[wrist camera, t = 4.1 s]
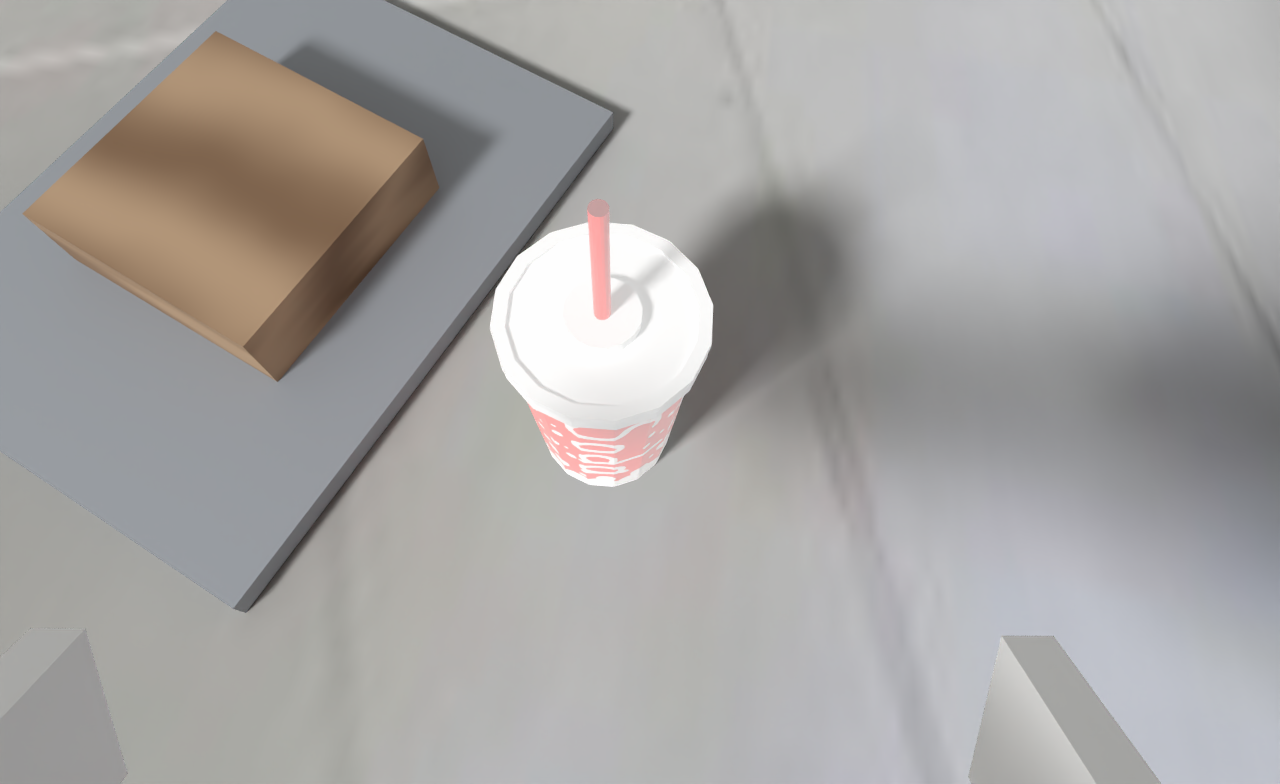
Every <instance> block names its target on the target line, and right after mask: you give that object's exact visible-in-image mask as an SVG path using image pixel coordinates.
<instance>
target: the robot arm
mask: <svg viewBox="0 0 1280 784" xmlns="http://www.w3.org/2000/svg"><path fill="white" fill-rule="evenodd" d="M127 774H128V773H127V769H126V766H125V763H124V759H123V756H122V752H121V749H120V745H119V742H118V739H117V735H116V732H115V728H114V725H113V721H112V718H111V715H110V711H109V708H108V704H107V701H106V698H105V694H104V691H103V687H102V684H101V680H100V677H99V674H98V670H97V667H96V663H95V660H94V657H93V653H92V650H91V646H90V643H89V639H88V636H87V633H86V629H79V628H30V629H29V630H28V631H27V632H26V633H25V634H24V635H23V636H22V637H21V638H20V639H19V640H18V641H17V642H16V643H15V644H14V645H12V646H11V647H10V648H9V649H8V650H7V651H6V652H5V653H4V654H3V655H2V656H1V657H0V784H121V782H122V781H123V779H124V778H125V777H126V775H127ZM968 777H969V779H970V781H971V784H1161V783H1160V781H1159V780H1158V778H1157V777H1156V776H1155V774H1154V773H1153V772H1152V770H1151V769H1150V768H1149V766H1148V765H1147V763H1146V762H1145V761H1144V759H1143V758H1142V757H1141V755H1140V754H1139V752H1138V751H1137V750H1136V748H1135V747H1134V746H1133V744H1132V743H1131V741H1130V740H1129V739H1128V737H1127V736H1126V735H1125V733H1124V732H1123V731H1122V729H1121V728H1120V726H1119V725H1118V724H1117V722H1116V721H1115V720H1114V718H1113V717H1112V715H1111V714H1110V713H1109V711H1108V710H1107V709H1106V707H1105V706H1104V704H1103V703H1102V702H1101V700H1100V699H1099V698H1098V696H1097V695H1096V694H1095V692H1094V691H1093V689H1092V688H1091V687H1090V685H1089V684H1088V683H1087V681H1086V680H1085V678H1084V677H1083V676H1082V674H1081V673H1080V672H1079V670H1078V669H1077V667H1076V666H1075V665H1074V663H1073V662H1072V661H1071V659H1070V658H1069V656H1068V655H1067V654H1066V652H1065V651H1064V650H1063V648H1062V647H1061V646H1060V644H1059V643H1058V641H1057V640H1056V639H1055V637H1054V636H1001V640H1000V645H999V649H998V653H997V657H996V662H995V666H994V670H993V674H992V678H991V683H990V687H989V691H988V695H987V700H986V704H985V708H984V712H983V717H982V721H981V725H980V729H979V734H978V738H977V742H976V746H975V750H974V755H973V759H972V763H971V767H970V772H969V776H968Z"/></svg>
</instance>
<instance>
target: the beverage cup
mask: <svg viewBox="0 0 1280 784" xmlns="http://www.w3.org/2000/svg"><path fill="white" fill-rule="evenodd" d="M587 211H588V223H584V224H580V225H577V226H573V227H569V228H565V229H562V230H558V231H554V232H551V233H549V234H548V235H546V236H545V237H543V238H542V239H541V240H539V241H538V242H536V243H535V244H534V245H532V246H531V247H529V248H528V249H526V250H525V251H524V252H522V253H521V254H519V255H518V256H517V257H516V259H515V260H514V262H513V263H512V265H511V266H510V268H509V269H508V271H507V273H506V274H505V276H504V277H503V279H502V280H501V282H500V283H499V285H498V286H497V288H496V291H495V297H494V304H493V310H492V317H491V323H490V330H491V334H492V337H493V340H494V344H495V347H496V351H497V354H498V357H499V361H500V364H501V367H502V370H503V372H504V373H505V376H506V378H507V379H508V380H509V382H510V383H511V384H512V385H513V386H514V387H515V388H516V390H517V391H518V392H519V393H520V394H521V395H522V396H523V398H524V399H525V400H526V401H527V403H528V405H529V407H530V409H531V412H532V414H533V416H534V418H535V420H536V422H537V424H538V427H539V429H540V431H541V433H542V435H543V437H544V440H545V442H546V444H547V446H548V448H549V450H550V452H551V455H552V457H553V458H554V459H555V460H556V461H557V462H558V463H559V465H560V466H561V467H562V468H563V469H564V470H565V472H566V473H567V474H569V475H571V476H573V477H575V478H577V479H579V480H581V481H583V482H585V483H587V484H589V485H599V486H613V487H614V486H618V485H621V484H624V483H627V482H630V481H633V480H636V479H638V478H639V477H641V476H642V475H643V474H644V473H645V472H647V471H648V470H649V469H650V468H651V467H653V466H654V465H655V464H656V463H657V461H658V459H659V457H660V455H661V453H662V451H663V449H664V447H665V445H666V443H667V440H668V438H669V435H670V432H671V429H672V427H673V424H674V421H675V418H676V416H677V413H678V410H679V408H680V405H681V402H682V399H683V397H684V395H685V394H687V393H688V392H689V391H690V389H691V387H692V385H693V384H694V382H695V380H696V378H697V376H698V374H699V372H700V370H701V368H702V366H703V364H704V362H705V360H706V358H707V356H708V352H709V350H710V349H711V345H712V323H713V303H712V301H711V298H710V296H709V294H708V291H707V289H706V286H705V284H704V281H703V279H702V277H701V274H700V272H699V269H698V268H697V267H696V266H695V265H694V264H693V263H692V262H691V261H690V260H689V259H688V258H687V257H686V256H685V255H684V254H683V253H682V252H681V251H679V250H678V249H677V248H676V247H675V246H674V245H673V244H672V243H671V242H670V241H669V240H666V239H664V238H662V237H659V236H657V235H655V234H653V233H650V232H648V231H646V230H643V229H641V228H639V227H636V226H634V225H630V224H616V223H609V205H608V203H607V202H606V201H604V200H602V199H596V200H593V201H591V202H590V203H589V204H588V208H587Z"/></svg>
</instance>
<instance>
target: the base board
mask: <svg viewBox="0 0 1280 784" xmlns="http://www.w3.org/2000/svg"><path fill="white" fill-rule="evenodd" d="M215 31H217V32H219V33H221V34H223V35H225V36H227V37H229V38H231V39H232V40H234V41H236V42H238V43H240V44H242V45H244V46H246V47H248V48H250V49H252V50H254V51H255V52H257V53H259V54H261V55H263V56H265V57H267V58H269V59H271V60H273V61H275V62H277V63H279V64H280V65H282V66H284V67H286V68H288V69H290V70H292V71H294V72H296V73H298V74H300V75H302V76H303V77H305V78H307V79H309V80H311V81H313V82H315V83H317V84H319V85H321V86H323V87H325V88H326V89H328V90H330V91H332V92H334V93H336V94H338V95H340V96H342V97H344V98H346V99H348V100H350V101H351V102H353V103H355V104H357V105H359V106H361V107H363V108H365V109H367V110H369V111H371V112H373V113H374V114H376V115H378V116H380V117H382V118H384V119H386V120H388V121H390V122H392V123H394V124H396V125H397V126H399V127H401V128H403V129H405V130H407V131H409V132H411V133H413V134H415V135H417V136H419V137H421V138H422V139H423V140H424V143H425V146H426V149H427V152H428V155H429V158H430V161H431V164H432V167H433V170H434V173H435V176H436V179H437V182H438V185H439V189H438V190H437V191H436V193H435V194H434V195H433V196H432V197H431V199H430V200H429V201H428V202H427V203H426V205H425V206H424V207H423V208H422V209H421V211H420V212H419V213H418V214H417V215H416V217H415V218H414V219H413V220H412V221H411V223H410V224H409V225H408V226H407V227H406V229H405V230H404V231H403V232H402V233H401V235H400V236H399V237H398V238H397V239H396V241H395V242H394V243H393V244H392V246H391V247H390V248H389V249H388V250H387V252H386V253H385V254H384V255H383V256H382V258H381V259H380V260H379V261H378V262H377V264H376V265H375V266H374V267H373V268H372V270H371V271H370V272H369V273H368V274H367V276H366V277H365V278H364V279H363V280H362V282H361V283H360V284H359V285H358V286H357V288H356V289H355V290H354V291H353V292H352V294H351V295H350V296H349V297H348V298H347V300H346V301H345V302H344V303H343V304H342V306H341V307H340V308H339V309H338V310H337V312H336V313H335V314H334V315H333V316H332V318H331V319H330V320H329V321H328V322H327V324H326V325H325V326H324V327H323V328H322V330H321V331H320V332H319V333H318V334H317V336H316V337H315V338H314V339H313V340H312V342H311V343H310V344H309V345H308V346H307V348H306V349H305V350H304V351H303V352H302V354H301V355H300V356H299V357H298V358H297V360H296V361H295V362H294V363H293V364H292V366H291V367H290V368H289V369H288V370H287V372H286V373H285V374H284V375H283V376H282V378H281V379H280V380H279V381H278V382H277V381H275V380H273V379H272V378H270V377H268V376H267V375H265V374H263V373H262V372H260V371H259V370H257V369H255V368H254V367H252V366H250V365H249V364H247V363H245V362H244V361H242V360H240V359H239V358H237V357H235V356H234V355H232V354H230V353H229V352H227V351H226V350H224V349H222V348H221V347H219V346H217V345H216V344H214V343H212V342H211V341H209V340H207V339H206V338H204V337H202V336H201V335H199V334H198V333H196V332H194V331H193V330H191V329H189V328H188V327H186V326H184V325H183V324H181V323H179V322H178V321H176V320H174V319H173V318H171V317H170V316H168V315H166V314H165V313H163V312H161V311H160V310H158V309H156V308H155V307H153V306H151V305H150V304H148V303H146V302H145V301H143V300H141V299H140V298H138V297H137V296H135V295H133V294H132V293H130V292H128V291H127V290H125V289H123V288H122V287H120V286H118V285H117V284H115V283H113V282H112V281H110V280H109V279H107V278H105V277H104V276H102V275H100V274H99V273H97V272H95V271H94V270H92V269H90V268H89V267H87V266H85V265H84V264H82V263H81V262H79V261H77V260H76V259H74V258H73V257H72V256H71V255H69V254H68V253H67V252H66V251H65V250H64V249H62V248H61V247H60V246H59V245H58V244H57V243H55V242H54V241H53V240H52V239H51V238H50V237H48V236H47V235H46V234H45V233H44V232H43V231H42V230H40V229H39V228H38V227H37V226H36V225H35V224H33V223H32V222H31V221H30V220H29V219H28V218H26V217H25V216H24V215H23V214H22V213H23V212H24V211H26V210H27V209H28V208H29V207H30V206H31V205H32V204H33V203H34V202H35V201H36V200H37V199H38V198H39V197H40V196H41V195H42V194H44V193H45V192H46V191H47V190H48V189H49V188H50V187H51V186H52V185H53V184H54V183H55V182H56V181H57V180H58V179H59V178H60V177H62V176H63V175H64V174H65V173H66V172H67V171H68V170H69V169H70V168H71V167H72V166H73V165H74V164H75V163H76V162H77V161H78V160H80V159H81V158H82V157H83V156H84V155H85V154H86V153H87V152H88V151H89V150H90V149H91V148H92V147H93V146H94V145H95V144H96V143H98V142H99V141H100V140H101V139H102V138H103V137H104V136H105V135H106V134H107V133H108V132H109V131H110V130H111V129H112V128H113V127H114V126H116V125H117V124H118V123H119V122H120V121H121V120H122V119H123V118H124V117H125V116H126V115H127V114H128V113H129V112H130V111H131V110H133V109H134V108H135V107H136V106H137V105H138V104H139V103H140V102H141V101H142V100H143V99H144V98H145V97H146V96H147V95H148V94H149V93H151V92H152V91H153V90H154V89H155V88H156V87H157V86H158V85H159V84H160V83H161V82H162V81H163V80H164V79H165V78H166V77H167V76H169V75H170V74H171V73H172V72H173V71H174V70H175V69H176V68H177V67H178V66H179V65H180V64H181V63H182V62H183V61H184V60H185V59H187V58H188V57H189V56H190V55H191V54H192V53H193V52H194V51H195V50H196V49H197V48H198V47H199V46H200V45H201V44H202V43H203V42H205V41H206V40H207V39H208V38H209V37H210V36H211V35H212V34H213V33H214V32H215ZM612 129H613V112H611V111H609V110H607V109H605V108H603V107H601V106H599V105H597V104H595V103H593V102H591V101H589V100H587V99H585V98H583V97H581V96H579V95H577V94H575V93H573V92H571V91H568V90H566V89H564V88H562V87H560V86H558V85H556V84H554V83H552V82H550V81H548V80H546V79H544V78H542V77H540V76H538V75H536V74H534V73H532V72H530V71H528V70H526V69H524V68H522V67H520V66H517V65H515V64H513V63H511V62H509V61H507V60H505V59H503V58H501V57H499V56H497V55H495V54H493V53H491V52H489V51H487V50H485V49H483V48H481V47H479V46H477V45H475V44H473V43H471V42H469V41H466V40H464V39H462V38H460V37H458V36H456V35H454V34H452V33H450V32H448V31H446V30H444V29H442V28H440V27H438V26H436V25H434V24H432V23H430V22H428V21H426V20H424V19H422V18H420V17H418V16H415V15H413V14H411V13H409V12H407V11H405V10H403V9H401V8H399V7H397V6H395V5H393V4H391V3H389V2H387V1H385V0H227V1H226V2H225V3H224V4H223V5H222V6H221V7H220V8H219V9H218V10H217V11H215V12H214V13H213V14H212V15H211V16H210V17H209V18H208V19H207V20H206V21H205V22H204V23H203V24H201V25H200V26H199V27H198V28H197V29H196V30H195V31H194V32H193V33H192V34H191V35H190V36H189V37H188V38H186V39H185V40H184V41H183V42H182V43H181V44H180V45H179V46H178V47H177V48H176V49H175V50H174V51H173V52H171V53H170V54H169V55H168V56H167V57H166V58H165V59H164V60H163V61H162V62H161V63H160V64H159V65H157V66H156V67H155V68H154V69H153V70H152V71H151V72H150V73H149V74H148V75H147V76H146V77H145V78H144V79H142V80H141V81H140V82H139V83H138V84H137V85H136V86H135V87H134V88H133V89H132V90H131V91H130V92H129V93H127V94H126V95H125V96H124V97H123V98H122V99H121V100H120V101H119V102H118V103H117V104H116V105H115V106H114V107H112V108H111V109H110V110H109V111H108V112H107V113H106V114H105V115H104V116H103V117H102V118H101V119H100V120H98V121H97V122H96V123H95V124H94V125H93V126H92V127H91V128H90V129H89V130H88V131H87V132H86V133H85V134H83V135H82V136H81V137H80V138H79V139H78V140H77V141H76V142H75V143H74V144H73V145H72V146H71V147H70V148H68V149H67V150H66V151H65V152H64V153H63V154H62V155H61V156H60V157H59V158H58V159H57V160H56V161H55V162H53V163H52V164H51V165H50V166H49V167H48V168H47V169H46V170H45V171H44V172H43V173H42V174H41V175H39V176H38V177H37V178H36V179H35V180H34V181H33V182H32V183H31V184H30V185H29V186H28V187H27V188H26V189H24V190H23V191H22V192H21V193H20V194H19V195H18V196H17V197H16V198H15V199H14V200H13V201H12V202H11V203H9V204H8V205H7V206H6V207H5V208H4V209H3V210H2V211H1V212H0V452H2V453H3V454H5V455H6V456H8V457H9V458H11V459H12V460H14V461H15V462H17V463H18V464H20V465H21V466H23V467H24V468H26V469H27V470H29V471H30V472H32V473H33V474H35V475H36V476H37V477H39V478H40V479H42V480H43V481H45V482H46V483H48V484H49V485H51V486H52V487H54V488H55V489H57V490H58V491H60V492H61V493H63V494H64V495H66V496H67V497H69V498H70V499H72V500H73V501H75V502H76V503H77V504H79V505H80V506H82V507H83V508H85V509H86V510H88V511H89V512H91V513H92V514H94V515H95V516H97V517H98V518H100V519H101V520H103V521H104V522H106V523H107V524H109V525H110V526H112V527H113V528H114V529H116V530H117V531H119V532H120V533H122V534H123V535H125V536H126V537H128V538H129V539H131V540H132V541H134V542H135V543H137V544H138V545H140V546H141V547H143V548H144V549H146V550H147V551H149V552H150V553H151V554H153V555H154V556H156V557H157V558H159V559H160V560H162V561H163V562H165V563H166V564H168V565H169V566H171V567H172V568H174V569H175V570H177V571H178V572H180V573H181V574H183V575H184V576H186V577H187V578H188V579H190V580H191V581H193V582H194V583H196V584H197V585H199V586H200V587H202V588H203V589H205V590H206V591H208V592H209V593H211V594H212V595H214V596H215V597H217V598H218V599H220V600H221V601H223V602H224V603H225V604H227V605H228V606H230V607H231V608H233V609H236V610H239V611H242V612H247V611H248V609H249V608H250V607H251V605H252V604H253V603H254V601H255V600H256V599H257V597H258V596H259V595H260V593H261V592H262V591H263V590H264V588H265V587H266V586H267V584H268V583H269V582H270V580H271V579H272V578H273V576H274V575H275V574H276V572H277V571H278V570H279V568H280V567H281V566H282V564H283V563H284V562H285V561H286V559H287V558H288V557H289V555H290V554H291V553H292V551H293V550H294V549H295V547H296V546H297V545H298V543H299V542H300V541H301V539H302V538H303V537H304V535H305V534H306V533H307V532H308V530H309V529H310V528H311V526H312V525H313V524H314V522H315V521H316V520H317V518H318V517H319V516H320V514H321V513H322V512H323V510H324V509H325V508H326V506H327V505H328V504H329V503H330V501H331V500H332V499H333V497H334V496H335V495H336V493H337V492H338V491H339V489H340V488H341V487H342V485H343V484H344V483H345V481H346V480H347V479H348V477H349V476H350V475H351V473H352V472H353V471H354V470H355V468H356V467H357V466H358V464H359V463H360V462H361V460H362V459H363V458H364V456H365V455H366V454H367V452H368V451H369V450H370V448H371V447H372V446H373V444H374V443H375V442H376V441H377V439H378V438H379V437H380V435H381V434H382V433H383V431H384V430H385V429H386V427H387V426H388V425H389V423H390V422H391V421H392V419H393V418H394V417H395V415H396V414H397V413H398V412H399V410H400V409H401V408H402V406H403V405H404V404H405V402H406V401H407V400H408V398H409V397H410V396H411V394H412V393H413V392H414V390H415V389H416V388H417V386H418V385H419V384H420V383H421V381H422V380H423V379H424V377H425V376H426V375H427V373H428V372H429V371H430V369H431V368H432V367H433V365H434V364H435V363H436V361H437V360H438V359H439V357H440V356H441V355H442V354H443V352H444V351H445V350H446V348H447V347H448V346H449V344H450V343H451V342H452V340H453V339H454V338H455V336H456V335H457V334H458V332H459V331H460V330H461V328H462V327H463V326H464V324H465V323H466V322H467V321H468V319H469V318H470V317H471V315H472V314H473V313H474V311H475V310H476V309H477V307H478V306H479V305H480V303H481V302H482V301H483V299H484V298H485V297H486V295H487V294H488V293H489V292H490V290H491V289H492V288H493V286H494V285H495V284H496V282H497V281H498V280H499V278H500V277H501V276H502V274H503V273H504V272H505V270H506V269H507V268H508V266H509V265H510V264H511V263H512V261H513V260H514V259H515V257H516V256H517V255H518V253H519V252H520V251H521V249H522V248H523V247H524V245H525V244H526V243H527V241H528V240H529V239H530V237H531V236H532V235H533V234H534V232H535V231H536V230H537V228H538V227H539V226H540V224H541V223H542V222H543V220H544V219H545V218H546V216H547V215H548V214H549V212H550V211H551V210H552V208H553V207H554V206H555V204H556V203H557V202H558V201H559V199H560V198H561V197H562V195H563V194H564V193H565V191H566V190H567V189H568V187H569V186H570V185H571V183H572V182H573V181H574V179H575V178H576V177H577V175H578V174H579V173H580V172H581V170H582V169H583V168H584V166H585V165H586V164H587V162H588V161H589V160H590V158H591V157H592V156H593V154H594V153H595V152H596V150H597V149H598V148H599V146H600V145H601V144H602V143H603V141H604V140H605V139H606V137H607V136H608V135H609V133H610V132H611V131H612Z"/></svg>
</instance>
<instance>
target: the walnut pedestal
mask: <svg viewBox="0 0 1280 784" xmlns="http://www.w3.org/2000/svg"><path fill="white" fill-rule="evenodd" d="M438 189H439V185H438V182H437V179H436V176H435V173H434V170H433V167H432V164H431V161H430V158H429V155H428V152H427V149H426V146H425V143H424V140H423V139H422V138H421V137H419V136H417V135H415V134H413V133H411V132H409V131H407V130H405V129H403V128H401V127H399V126H397V125H396V124H394V123H392V122H390V121H388V120H386V119H384V118H382V117H380V116H378V115H376V114H374V113H373V112H371V111H369V110H367V109H365V108H363V107H361V106H359V105H357V104H355V103H353V102H351V101H350V100H348V99H346V98H344V97H342V96H340V95H338V94H336V93H334V92H332V91H330V90H328V89H326V88H325V87H323V86H321V85H319V84H317V83H315V82H313V81H311V80H309V79H307V78H305V77H303V76H302V75H300V74H298V73H296V72H294V71H292V70H290V69H288V68H286V67H284V66H282V65H280V64H279V63H277V62H275V61H273V60H271V59H269V58H267V57H265V56H263V55H261V54H259V53H257V52H255V51H254V50H252V49H250V48H248V47H246V46H244V45H242V44H240V43H238V42H236V41H234V40H232V39H231V38H229V37H227V36H225V35H223V34H221V33H219V32H217V31H215V32H214V33H213V34H212V35H211V36H210V37H209V38H208V39H207V40H206V41H205V42H203V43H202V44H201V45H200V46H199V47H198V48H197V49H196V50H195V51H194V52H193V53H192V54H191V55H190V56H189V57H188V58H187V59H185V60H184V61H183V62H182V63H181V64H180V65H179V66H178V67H177V68H176V69H175V70H174V71H173V72H172V73H171V74H170V75H169V76H167V77H166V78H165V79H164V80H163V81H162V82H161V83H160V84H159V85H158V86H157V87H156V88H155V89H154V90H153V91H152V92H151V93H149V94H148V95H147V96H146V97H145V98H144V99H143V100H142V101H141V102H140V103H139V104H138V105H137V106H136V107H135V108H134V109H133V110H131V111H130V112H129V113H128V114H127V115H126V116H125V117H124V118H123V119H122V120H121V121H120V122H119V123H118V124H117V125H116V126H114V127H113V128H112V129H111V130H110V131H109V132H108V133H107V134H106V135H105V136H104V137H103V138H102V139H101V140H100V141H99V142H98V143H96V144H95V145H94V146H93V147H92V148H91V149H90V150H89V151H88V152H87V153H86V154H85V155H84V156H83V157H82V158H81V159H80V160H78V161H77V162H76V163H75V164H74V165H73V166H72V167H71V168H70V169H69V170H68V171H67V172H66V173H65V174H64V175H63V176H62V177H60V178H59V179H58V180H57V181H56V182H55V183H54V184H53V185H52V186H51V187H50V188H49V189H48V190H47V191H46V192H45V193H44V194H42V195H41V196H40V197H39V198H38V199H37V200H36V201H35V202H34V203H33V204H32V205H31V206H30V207H29V208H28V209H27V210H26V211H24V212H23V213H22V214H23V215H24V216H25V217H26V218H28V219H29V220H30V221H31V222H32V223H33V224H35V225H36V226H37V227H38V228H39V229H40V230H42V231H43V232H44V233H45V234H46V235H47V236H48V237H50V238H51V239H52V240H53V241H54V242H55V243H57V244H58V245H59V246H60V247H61V248H62V249H64V250H65V251H66V252H67V253H68V254H69V255H71V256H72V257H73V258H74V259H76V260H77V261H79V262H81V263H82V264H84V265H85V266H87V267H89V268H90V269H92V270H94V271H95V272H97V273H99V274H100V275H102V276H104V277H105V278H107V279H109V280H110V281H112V282H113V283H115V284H117V285H118V286H120V287H122V288H123V289H125V290H127V291H128V292H130V293H132V294H133V295H135V296H137V297H138V298H140V299H141V300H143V301H145V302H146V303H148V304H150V305H151V306H153V307H155V308H156V309H158V310H160V311H161V312H163V313H165V314H166V315H168V316H170V317H171V318H173V319H174V320H176V321H178V322H179V323H181V324H183V325H184V326H186V327H188V328H189V329H191V330H193V331H194V332H196V333H198V334H199V335H201V336H202V337H204V338H206V339H207V340H209V341H211V342H212V343H214V344H216V345H217V346H219V347H221V348H222V349H224V350H226V351H227V352H229V353H230V354H232V355H234V356H235V357H237V358H239V359H240V360H242V361H244V362H245V363H247V364H249V365H250V366H252V367H254V368H255V369H257V370H259V371H260V372H262V373H263V374H265V375H267V376H268V377H270V378H272V379H273V380H275V381H277V382H278V381H279V380H280V379H281V378H282V376H283V375H284V374H285V373H286V372H287V370H288V369H289V368H290V367H291V366H292V364H293V363H294V362H295V361H296V360H297V358H298V357H299V356H300V355H301V354H302V352H303V351H304V350H305V349H306V348H307V346H308V345H309V344H310V343H311V342H312V340H313V339H314V338H315V337H316V336H317V334H318V333H319V332H320V331H321V330H322V328H323V327H324V326H325V325H326V324H327V322H328V321H329V320H330V319H331V318H332V316H333V315H334V314H335V313H336V312H337V310H338V309H339V308H340V307H341V306H342V304H343V303H344V302H345V301H346V300H347V298H348V297H349V296H350V295H351V294H352V292H353V291H354V290H355V289H356V288H357V286H358V285H359V284H360V283H361V282H362V280H363V279H364V278H365V277H366V276H367V274H368V273H369V272H370V271H371V270H372V268H373V267H374V266H375V265H376V264H377V262H378V261H379V260H380V259H381V258H382V256H383V255H384V254H385V253H386V252H387V250H388V249H389V248H390V247H391V246H392V244H393V243H394V242H395V241H396V239H397V238H398V237H399V236H400V235H401V233H402V232H403V231H404V230H405V229H406V227H407V226H408V225H409V224H410V223H411V221H412V220H413V219H414V218H415V217H416V215H417V214H418V213H419V212H420V211H421V209H422V208H423V207H424V206H425V205H426V203H427V202H428V201H429V200H430V199H431V197H432V196H433V195H434V194H435V193H436V191H437V190H438Z"/></svg>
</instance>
